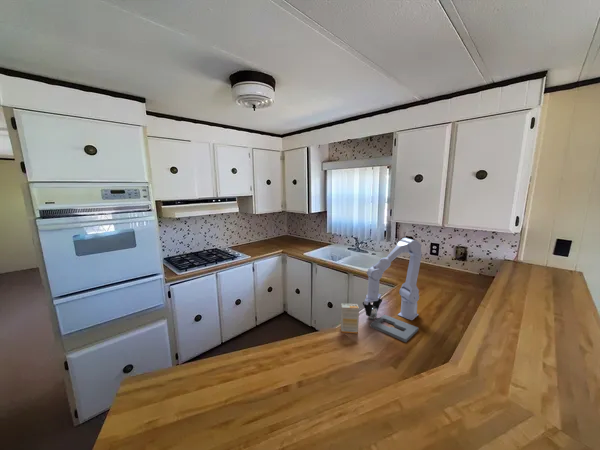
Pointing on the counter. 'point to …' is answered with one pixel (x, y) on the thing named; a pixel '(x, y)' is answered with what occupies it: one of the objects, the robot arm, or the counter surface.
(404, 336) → the keyhole plate
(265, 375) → the counter surface
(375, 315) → the headed peg
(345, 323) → the supplement box
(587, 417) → the counter surface
